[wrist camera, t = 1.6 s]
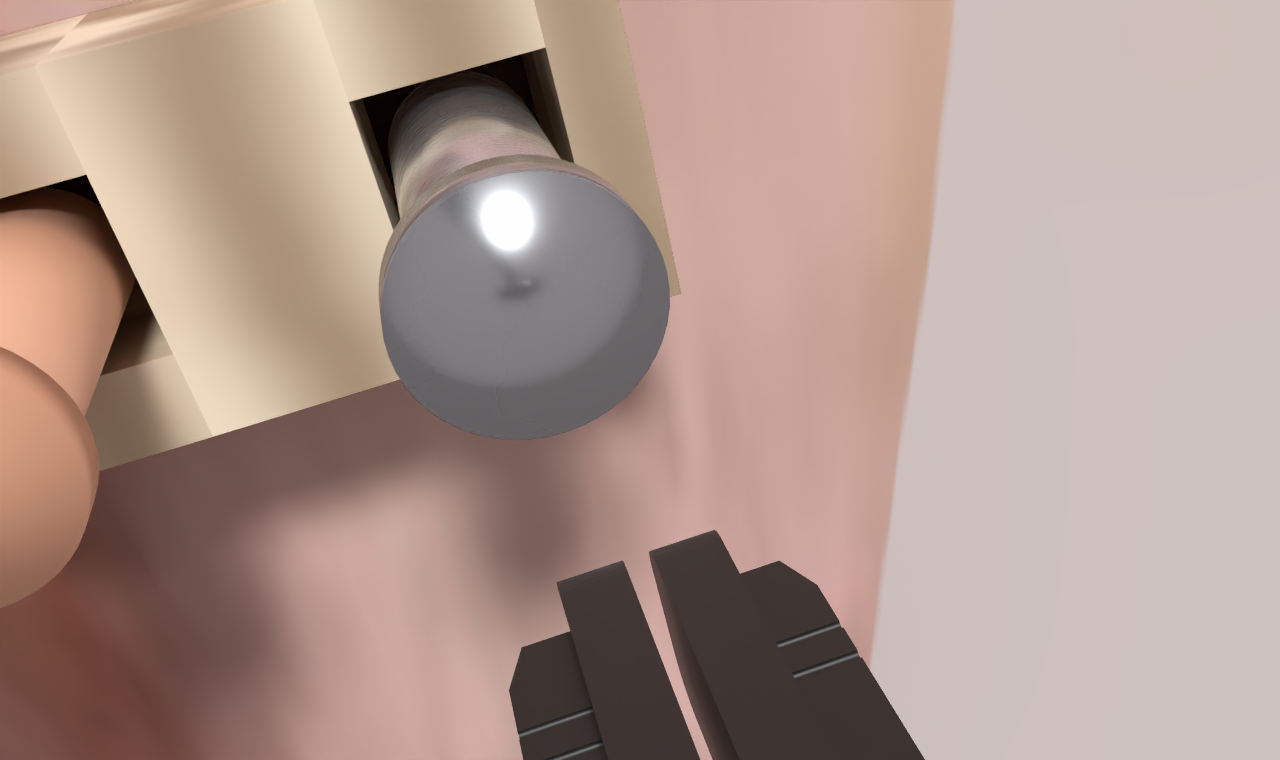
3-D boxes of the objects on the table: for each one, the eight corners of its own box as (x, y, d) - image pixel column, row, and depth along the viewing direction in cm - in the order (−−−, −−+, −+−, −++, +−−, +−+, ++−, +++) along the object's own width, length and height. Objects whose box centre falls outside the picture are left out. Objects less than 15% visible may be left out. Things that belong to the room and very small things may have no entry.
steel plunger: (398, 264, 28) (432, 473, 20) (332, 76, 26) (338, 222, 17) (582, 209, 29) (693, 391, 20) (535, 21, 26) (637, 136, 18)
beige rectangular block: (9, 396, 31) (-52, 517, 26) (-174, 82, 27) (-291, 152, 22) (626, 214, 33) (681, 293, 28) (551, -108, 29) (600, -84, 24)
